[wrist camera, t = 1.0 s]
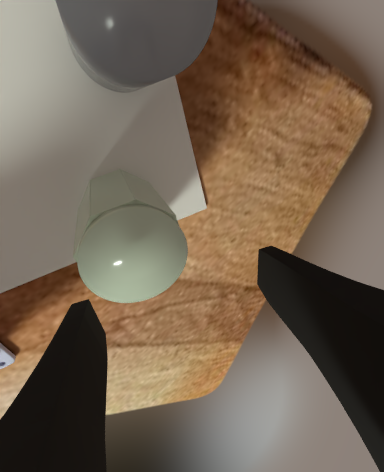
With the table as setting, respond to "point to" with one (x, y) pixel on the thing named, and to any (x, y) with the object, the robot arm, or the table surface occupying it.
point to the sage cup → (127, 239)
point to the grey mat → (74, 142)
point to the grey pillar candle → (136, 38)
